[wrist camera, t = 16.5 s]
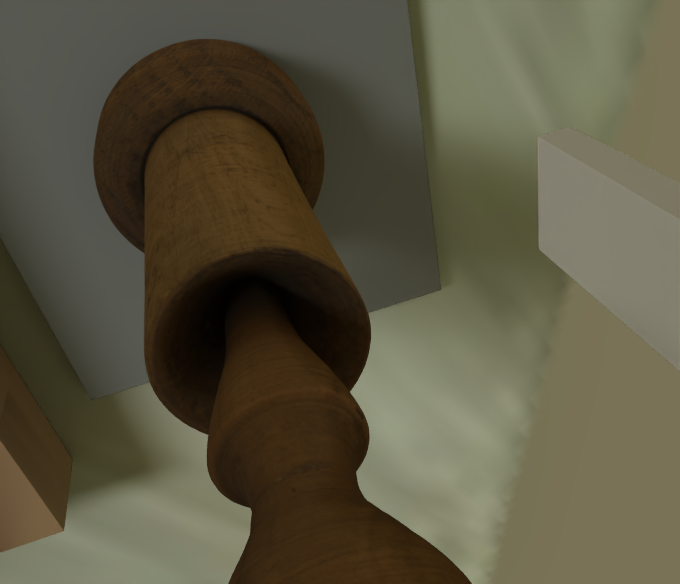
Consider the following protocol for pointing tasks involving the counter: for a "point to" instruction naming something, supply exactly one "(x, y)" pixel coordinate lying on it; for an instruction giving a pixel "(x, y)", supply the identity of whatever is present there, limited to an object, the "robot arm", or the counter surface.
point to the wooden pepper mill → (252, 308)
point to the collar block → (28, 466)
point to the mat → (81, 127)
